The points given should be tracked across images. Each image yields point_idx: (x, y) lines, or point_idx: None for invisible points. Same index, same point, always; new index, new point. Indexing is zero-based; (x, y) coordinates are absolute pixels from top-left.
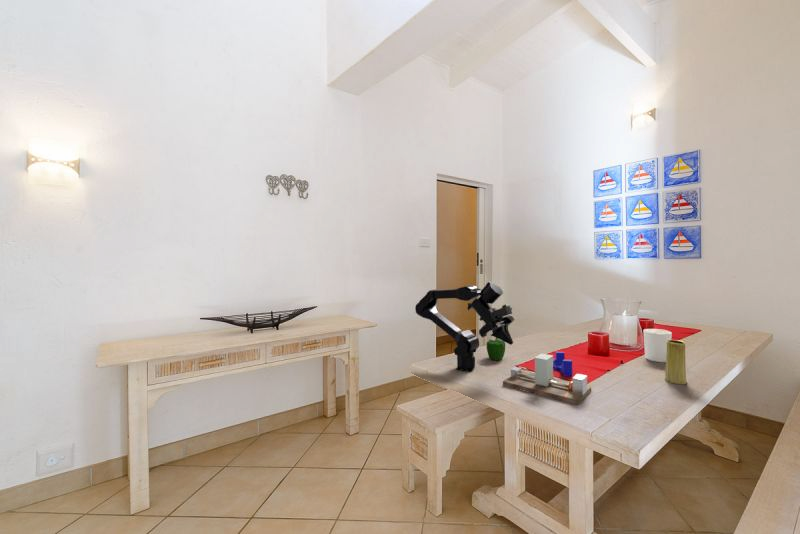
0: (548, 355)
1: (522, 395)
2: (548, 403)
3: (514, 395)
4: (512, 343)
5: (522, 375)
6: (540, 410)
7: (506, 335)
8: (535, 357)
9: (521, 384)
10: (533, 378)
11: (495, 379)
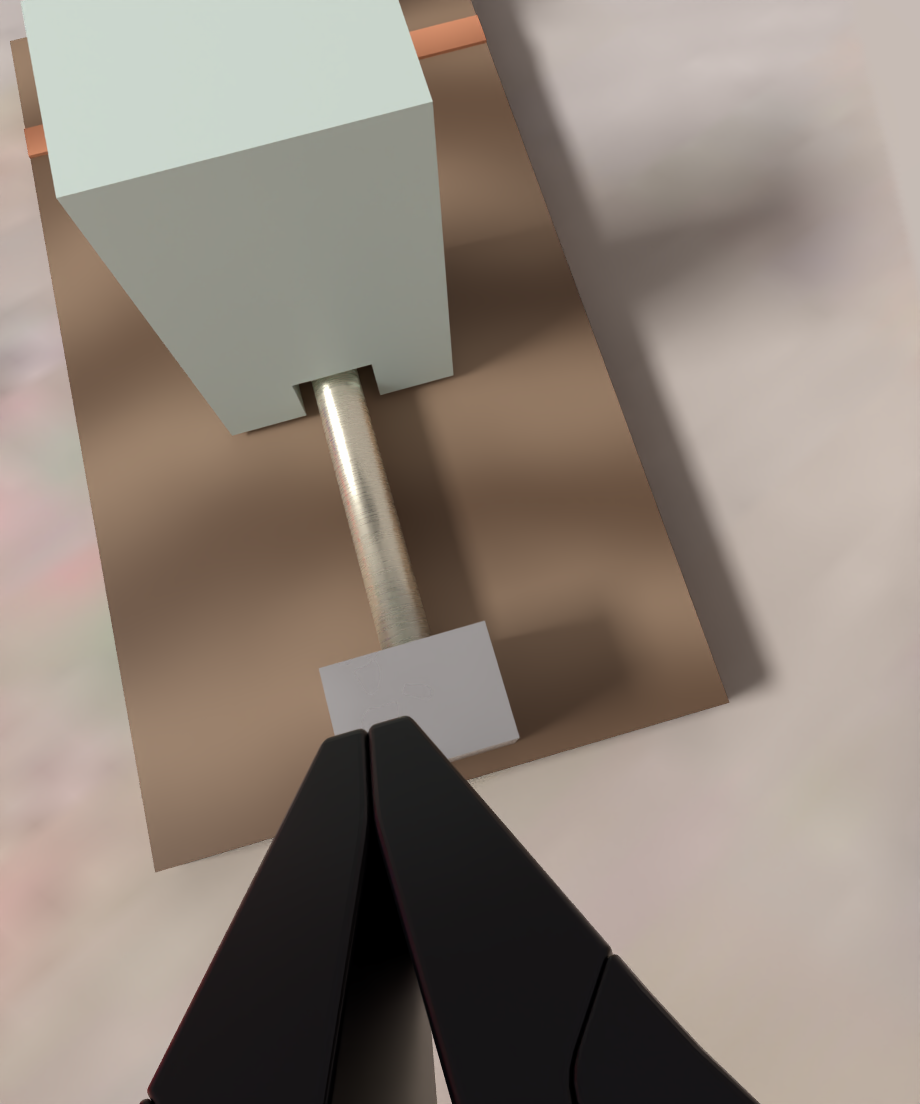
0: (84, 44)
1: (730, 365)
2: (651, 118)
3: (811, 412)
4: (403, 721)
5: (417, 589)
6: (840, 71)
7: (615, 967)
8: (418, 95)
9: (598, 473)
10: (374, 440)
11: (642, 942)
